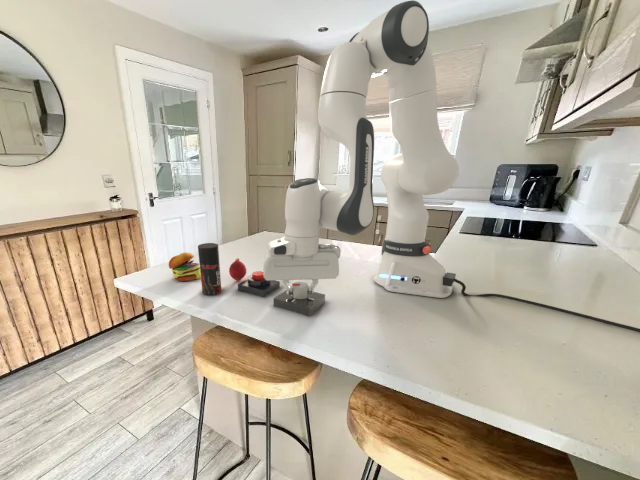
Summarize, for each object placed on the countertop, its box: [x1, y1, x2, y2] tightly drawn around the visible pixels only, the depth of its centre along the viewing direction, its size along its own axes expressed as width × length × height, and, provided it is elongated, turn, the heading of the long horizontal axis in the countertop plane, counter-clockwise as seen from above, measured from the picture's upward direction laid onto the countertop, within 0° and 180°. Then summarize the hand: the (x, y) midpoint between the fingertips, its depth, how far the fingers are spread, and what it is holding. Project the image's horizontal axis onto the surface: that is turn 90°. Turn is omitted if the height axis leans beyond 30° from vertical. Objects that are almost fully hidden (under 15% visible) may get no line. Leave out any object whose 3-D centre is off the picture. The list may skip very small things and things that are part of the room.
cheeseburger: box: [168, 251, 201, 282], centre depth 108 cm, size 10×11×10 cm
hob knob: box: [291, 281, 309, 299], centre depth 85 cm, size 4×4×4 cm
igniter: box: [237, 274, 281, 298], centre depth 97 cm, size 10×9×4 cm
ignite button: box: [251, 270, 265, 280], centre depth 96 cm, size 4×4×2 cm
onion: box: [228, 257, 247, 282], centre depth 103 cm, size 6×6×8 cm
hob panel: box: [273, 289, 326, 317], centre depth 86 cm, size 11×10×3 cm
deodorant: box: [197, 242, 222, 297], centre depth 93 cm, size 6×6×15 cm
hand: (299, 293), depth 85 cm, fingers closed on hob knob, 4 cm apart
